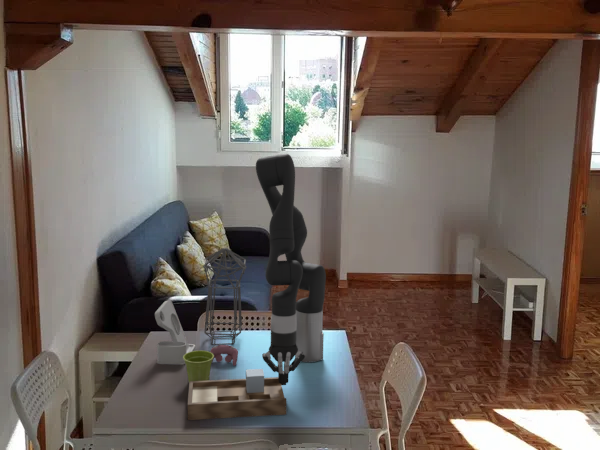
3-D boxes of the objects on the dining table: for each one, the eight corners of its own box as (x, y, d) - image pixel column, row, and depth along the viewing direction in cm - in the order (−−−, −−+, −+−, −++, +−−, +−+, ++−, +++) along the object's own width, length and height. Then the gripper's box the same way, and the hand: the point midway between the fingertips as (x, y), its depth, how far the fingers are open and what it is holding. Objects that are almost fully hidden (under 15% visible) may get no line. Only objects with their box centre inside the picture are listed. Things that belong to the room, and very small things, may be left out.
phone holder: (185, 365, 203) (184, 313, 200) (155, 364, 203) (153, 312, 200) (196, 346, 220) (195, 298, 217) (168, 345, 221) (167, 297, 217)
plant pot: (219, 378, 193) (219, 352, 191) (205, 391, 184) (204, 363, 182) (193, 374, 196) (192, 348, 194) (178, 386, 187) (177, 359, 185)
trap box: (280, 391, 184) (280, 377, 184) (286, 414, 170) (286, 399, 169) (189, 395, 181) (189, 381, 180) (187, 420, 166) (187, 404, 165)
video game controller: (238, 367, 206) (239, 346, 208) (235, 366, 201) (237, 344, 204) (209, 365, 207) (211, 344, 209) (206, 364, 202) (208, 343, 204)
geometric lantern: (203, 333, 233) (204, 243, 227) (244, 334, 234) (246, 244, 229) (200, 348, 217) (201, 252, 212) (244, 348, 219) (247, 253, 213)
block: (262, 384, 182) (262, 368, 181) (264, 392, 177) (264, 375, 176) (245, 385, 181) (245, 369, 180) (246, 392, 176) (246, 376, 175)
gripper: (304, 322, 182) (303, 377, 184) (259, 324, 180) (259, 379, 183) (308, 331, 174) (307, 388, 177) (262, 333, 172) (261, 390, 175)
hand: (283, 384), depth 180 cm, fingers closed
